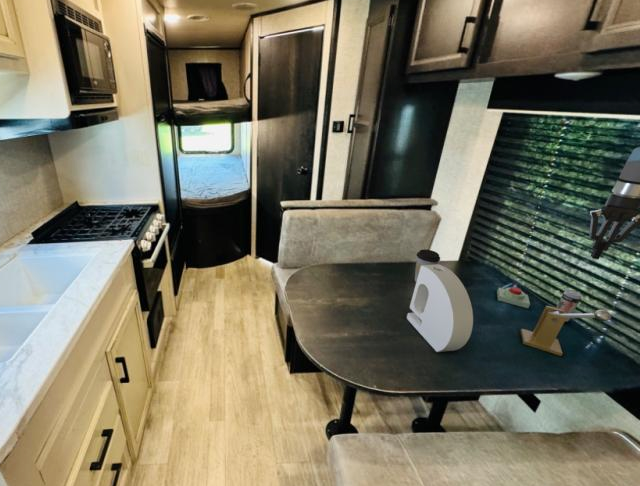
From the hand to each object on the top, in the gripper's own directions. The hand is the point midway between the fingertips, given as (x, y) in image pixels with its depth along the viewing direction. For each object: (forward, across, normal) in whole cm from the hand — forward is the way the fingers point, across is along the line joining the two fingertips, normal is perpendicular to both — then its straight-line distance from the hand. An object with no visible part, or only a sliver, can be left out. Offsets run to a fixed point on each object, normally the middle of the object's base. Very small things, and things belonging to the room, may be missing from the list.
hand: (594, 257), depth 113 cm
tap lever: (+14, +4, +25) cm, 29 cm away
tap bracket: (+26, +10, +25) cm, 38 cm away
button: (+23, +16, -2) cm, 28 cm away
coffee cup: (+27, +50, +4) cm, 57 cm away
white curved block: (+27, +42, +43) cm, 66 cm away
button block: (+26, +16, -2) cm, 31 cm away
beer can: (+27, +1, +3) cm, 27 cm away
